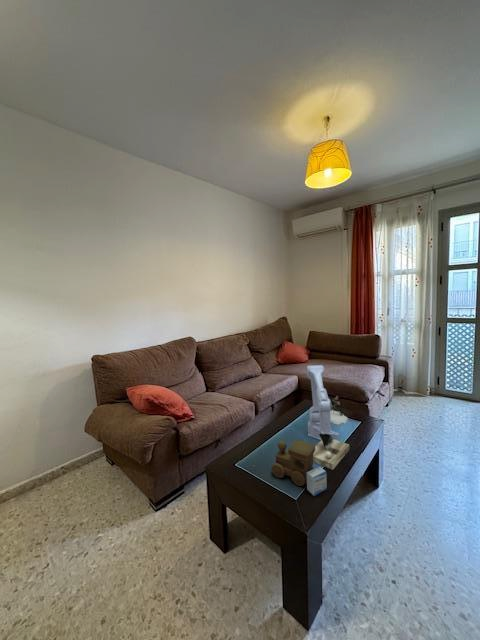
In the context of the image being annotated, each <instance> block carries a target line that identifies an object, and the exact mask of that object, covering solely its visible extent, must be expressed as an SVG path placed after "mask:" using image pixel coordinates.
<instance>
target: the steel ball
mask: <svg viewBox="0 0 480 640" xmlns="http://www.w3.org/2000/svg"><path fill="white" fill-rule="evenodd" d="M325 448H326V449H327V450H330V449H331V445H330V444H329V443H327V444H326V446H325Z"/></svg>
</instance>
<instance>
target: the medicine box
mask: <svg viewBox="0 0 480 640" xmlns="http://www.w3.org/2000/svg"><path fill="white" fill-rule="evenodd" d="M306 474H307V483H306V490H307V491H308V492H309V494H311V495H312V496H313V497H315V496H317V495H319V494H321V493H322V492H324V491H326V490H327V488H328V487H327V486H328V485H327V471H326V470H325V469H323V468H322V467H321V466H318V467H315V468H314V469H313V470H311V471H309V472H307V473H306Z"/></svg>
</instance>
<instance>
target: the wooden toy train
mask: <svg viewBox="0 0 480 640" xmlns="http://www.w3.org/2000/svg"><path fill="white" fill-rule="evenodd" d="M315 446H316V445H315V444H313V443H311V442H308V441H304V440H302V439H301V440H300V439H296V440H294V441H293V442H292V443H291V444H290V446H289V447H288V444H287V443H286V442H285V441H284V440H279V442H277V448H278V449H279V450H278V451H277V453H276V454H275V461H274V462H273V464H272V465H271V466H270V468H271V472H272V473H273V475H274V476H275V477H276V478H279V479H283V478H284V477H285V476H288V477H290V479H291V480H292V482H293V483H294V484H295V485H296V486H298V487H303V486H304V485H306V484H307V474H306V473H307V472H309V471H311V470H313V469H315V468H314V467H313V465H314V462H313V453H314V452H315ZM287 447H288V450H286V449H287Z"/></svg>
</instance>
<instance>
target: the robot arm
mask: <svg viewBox="0 0 480 640" xmlns="http://www.w3.org/2000/svg"><path fill="white" fill-rule="evenodd" d="M324 374H325V368H324V366H323V364H319V365H307V366H306V377H307V379H309V380H310V384H311V396H312V406H311V407H309V410H308V413H309V414H308V416H309V420H308V422H307V433H308V434H307V436H308V437H311V438H312V439H313V438H314V439H317V440H320V441H321V440H322V441H323V445H324V447H325V446H326V444H327V443H328V440H329V438H330V436H332V437H334V438H336V439H339V438H340V433H339V432H336V431H335V430H333V429H332V426H331V424H332V423H331V416H330V411H332V410H333V407H332V406H333V405H332V402H331V401H332V400H331V399H330V397H329V396H328V392H327V389H326V388H324V383H323V377H324Z"/></svg>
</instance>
